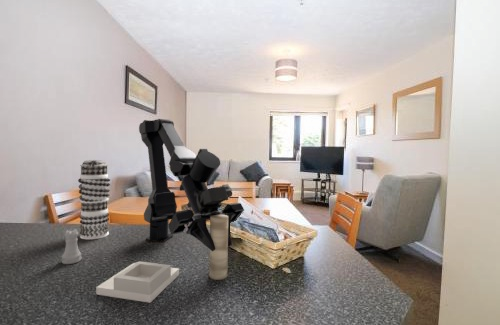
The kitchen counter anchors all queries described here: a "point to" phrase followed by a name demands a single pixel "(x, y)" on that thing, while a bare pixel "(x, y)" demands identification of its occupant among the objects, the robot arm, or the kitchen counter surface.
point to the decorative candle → (94, 199)
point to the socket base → (139, 281)
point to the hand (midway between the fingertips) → (222, 248)
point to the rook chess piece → (71, 248)
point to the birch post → (219, 247)
